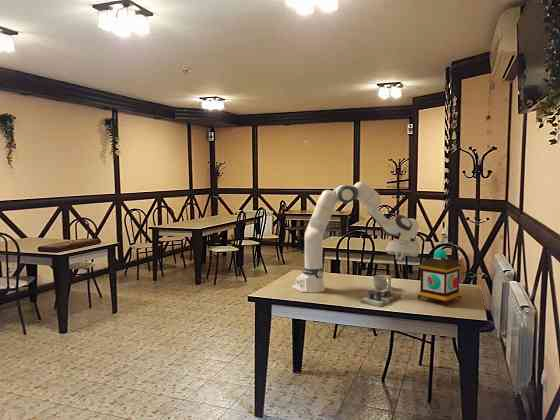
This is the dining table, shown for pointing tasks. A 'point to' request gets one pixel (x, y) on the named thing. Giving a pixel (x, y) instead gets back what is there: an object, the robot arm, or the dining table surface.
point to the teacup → (379, 282)
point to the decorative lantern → (440, 278)
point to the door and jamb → (379, 298)
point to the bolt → (387, 285)
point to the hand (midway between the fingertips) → (397, 260)
